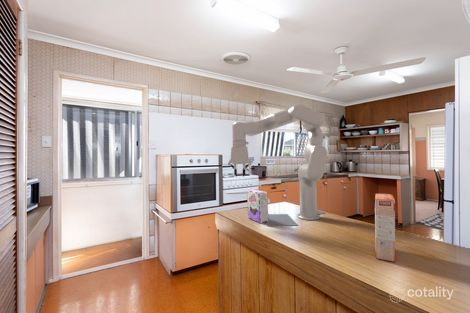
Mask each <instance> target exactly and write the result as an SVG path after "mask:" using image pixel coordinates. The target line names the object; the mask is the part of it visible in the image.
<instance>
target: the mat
mask: <svg viewBox="0 0 470 313" xmlns="http://www.w3.org/2000/svg"><path fill="white" fill-rule="evenodd" d="M268 221H269V222H264V224H265V225H266V226H267V227H297V226H299V224H298V223H297V222H296V221H295V220H294V219H293V218H292V217H291V216H290V215H289V214H288V213H277V214H276V213H271V214H270V213H268Z"/></svg>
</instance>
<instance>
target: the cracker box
mask: <svg viewBox="0 0 470 313" xmlns="http://www.w3.org/2000/svg"><path fill="white" fill-rule="evenodd" d="M374 200H375V202H374V229H375V230H374V240H375V242H374V244H375V259H376V260H377V259H378V260H382V261H387V262H393V263H395V262H396V214H395V213H396V207H395V206H396V204H395V203H396V201H395V197H394V195H393V194H390V193H375V198H374Z"/></svg>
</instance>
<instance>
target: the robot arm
mask: <svg viewBox="0 0 470 313" xmlns="http://www.w3.org/2000/svg"><path fill="white" fill-rule="evenodd" d="M298 121H300V122H301V124H302V127H303V128H304V129H305V131H306V133H307V141H306V146H305V150H304V152H303V156H304V159H305V160H306V161H307V162H308V163H304V164H301V165H300V166H299V168H298V170H297V174H298V184H299V213H298V214H297V218H298V219H301V220H306V221H315V220H319V219H320V218H321V215H326V211H325V210H318V203H317V202H318V198H317V197H318V195H317V190H318V189H317V182H316V181H320V180H321V179H322V178H323V175H324V173H325V169H326V165H327V161H328V157H329V156H328V154H329V152H328V150H327V148H326V146H323V142H324V132H323V130H322V128H321V127H322V126H323V125H324V123H325V117H324V115H323V114H322V113H321V112H319V111H317V110H314V109H312V108H310V107H309V106H306V105H304V104H299V103H297V104H294V105H293V106H291V107H288V108H285V109H283V110H281V111H277V112H275V113H272V114H270V115H267V116H266V117H264V118H262V119H260V120H257V121H245V122H243V121H237V122H236V121H235V122H234V123H232V146H231V148H230V159H229V161H228V162H227V165H228V166H229V167H231V168H232V169H233V170H234V171H233V173H234V176H235V177H237V176H238V172H237V165H242V177H243V178H244V177H245V176H246V169H247V168H248V167H250V166H251V165H252V162H251V160H250V159H249V149H248V145H249V141H246V140H247V138H246V136H248V137H253V136H254V137H255V136H256V135H259V134H262V133H265V132H268V131H272V130H275V129H278V128H281V127H284V126H286V125H289V124H291V123H296V122H298Z"/></svg>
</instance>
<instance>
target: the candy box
mask: <svg viewBox="0 0 470 313" xmlns="http://www.w3.org/2000/svg"><path fill="white" fill-rule="evenodd" d="M246 198H247V215H248V216H247V217H248V219H250V220H252V221H254V222H257V223H258V224H265V222H269V221H268V214H269V202H268V200H269V199H268V192H267V191H263V190H262V191H261V190H257V189H250V190H246Z"/></svg>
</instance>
